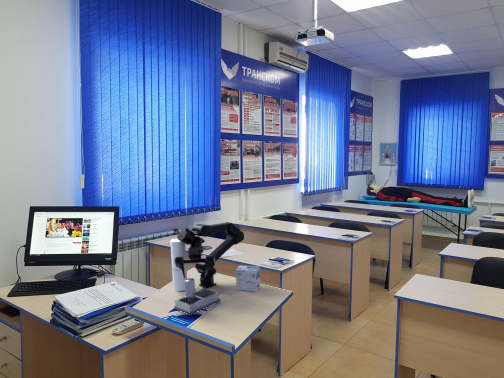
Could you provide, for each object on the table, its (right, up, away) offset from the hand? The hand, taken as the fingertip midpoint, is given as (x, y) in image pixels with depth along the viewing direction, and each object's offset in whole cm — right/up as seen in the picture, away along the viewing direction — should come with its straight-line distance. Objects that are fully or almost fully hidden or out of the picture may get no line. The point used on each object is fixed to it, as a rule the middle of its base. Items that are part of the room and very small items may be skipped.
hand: (194, 277), depth 173 cm
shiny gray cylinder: (0, -11, -8) cm, 13 cm away
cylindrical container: (-9, -9, +15) cm, 20 cm away
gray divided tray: (+2, -11, -5) cm, 12 cm away
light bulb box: (+25, -8, +12) cm, 29 cm away
